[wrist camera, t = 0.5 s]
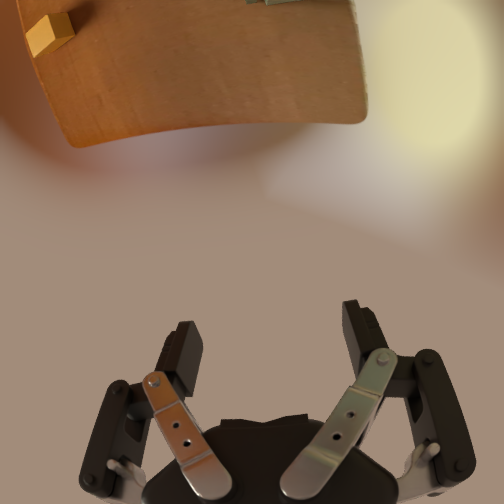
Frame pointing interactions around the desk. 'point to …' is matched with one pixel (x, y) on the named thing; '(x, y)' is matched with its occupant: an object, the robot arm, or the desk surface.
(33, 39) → the block
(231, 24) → the desk surface
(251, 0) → the drawer
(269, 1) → the cabinet
